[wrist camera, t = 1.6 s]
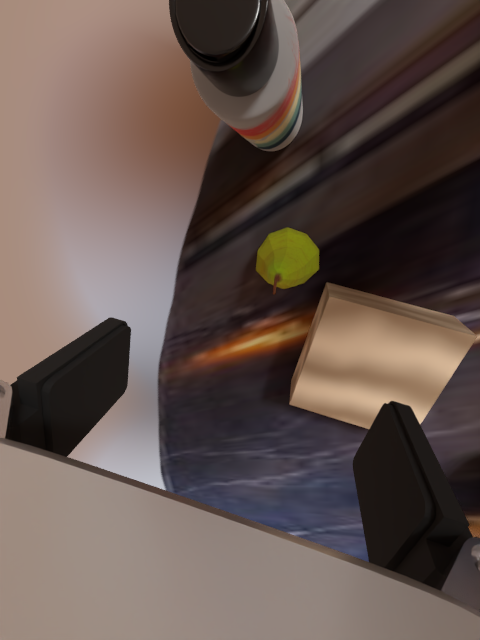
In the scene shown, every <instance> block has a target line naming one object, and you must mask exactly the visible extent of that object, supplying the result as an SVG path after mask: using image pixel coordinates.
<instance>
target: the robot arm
mask: <svg viewBox="0 0 480 640" xmlns="http://www.w3.org/2000/svg"><path fill="white" fill-rule="evenodd" d="M130 335H131V329H130V327H128V326H127V323H126V322H125V321H122V320H118V319H115V318H108V319H107V320H105V321H104V322H102V323H100V324H99V325H98V326H96V327H94V328H93V329H91V330H90V331H88V332H86V333H85V334H84V335H82V336H81V337H79V338H77V339H76V340H74V341H72V342H71V343H69V344H68V345H66V346H65V347H63V348H62V349H60V350H59V351H57V352H56V353H54V354H52V355H51V356H49V357H48V358H46V359H45V360H43V361H41V362H40V363H39V364H37V365H35V366H34V367H32V368H31V369H29V370H28V371H26V372H24V373H23V374H21V375H20V376H18V377H17V381H16V382H14V383H13V384H11V385H9V384H8V383H7V382H4V381H2V380H0V640H480V538H477V537H474V538H473V537H472V534H471V532H470V530H469V528H468V526H469V523H468V521H467V519H466V517H465V515H464V513H463V511H462V509H461V507H460V505H459V503H458V501H457V499H456V497H455V495H454V493H453V491H452V489H451V487H450V485H449V483H448V481H447V479H446V477H445V475H444V472H443V470H442V468H441V466H440V464H439V462H438V460H437V458H436V456H435V454H434V452H433V450H432V448H431V446H430V444H429V442H428V440H427V438H426V436H425V434H424V432H423V430H422V428H421V426H420V424H419V422H418V420H417V418H416V416H415V414H414V412H413V410H412V408H411V407H410V406H409V405H405V404H402V403H398V402H395V401H390V402H389V403H388V404H387V403H384V404H383V405H382V407H381V409H380V411H379V412H378V414H377V416H376V418H375V420H374V422H373V423H372V425H371V427H370V429H369V431H368V433H367V434H366V436H365V438H364V440H363V442H362V444H361V445H360V447H359V449H358V451H357V453H356V455H355V457H354V460H353V471H354V477H355V482H356V488H357V494H358V500H359V505H360V511H361V517H362V523H363V528H364V534H365V540H366V546H367V552H368V557H369V562H366V561H364V560H361V559H358V558H356V557H353V556H350V555H348V554H345V553H342V552H339V551H336V550H334V549H331V548H328V547H325V546H322V545H319V544H317V543H314V542H311V541H308V540H305V539H303V538H300V537H297V536H294V535H291V534H288V533H286V532H283V531H280V530H277V529H274V528H271V527H269V526H266V525H263V524H260V523H257V522H254V521H252V520H249V519H246V518H243V517H240V516H237V515H234V514H231V513H229V512H226V511H223V510H220V509H217V508H214V507H211V506H209V505H206V504H203V503H200V502H197V501H194V500H191V499H188V498H185V497H183V496H180V495H177V494H174V493H171V492H168V491H165V490H162V489H159V488H157V487H154V486H151V485H148V484H145V483H142V482H139V481H136V480H133V479H130V478H127V477H124V476H121V475H118V474H116V473H113V472H110V471H107V470H104V469H101V468H98V467H95V466H92V465H89V464H86V463H83V462H80V461H77V460H74V459H71V458H68V457H67V456H68V455H69V454H70V453H71V452H72V450H73V449H74V448H75V447H76V446H77V445H78V444H79V443H80V442H81V440H82V439H83V438H84V437H85V436H86V435H87V434H88V433H89V432H90V430H91V429H92V428H93V427H94V426H95V425H96V424H97V423H98V422H99V420H100V419H101V418H102V417H103V416H104V415H105V414H106V413H107V412H108V410H109V409H110V408H111V407H112V406H113V405H114V404H115V403H116V401H117V400H118V399H119V398H120V397H121V396H122V395H123V394H124V392H125V390H126V388H127V382H128V366H129V351H130Z"/></svg>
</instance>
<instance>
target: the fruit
mask: <svg viewBox="0 0 480 640" xmlns="http://www.w3.org/2000/svg"><path fill="white" fill-rule="evenodd" d="M318 270H319V249H318V248H317V246H316V245H315V244H314V243H313V241H312V240H311V239H310V238H309V237H308V235H307V234H305V233H302V232H299V231H297V230H294V229H291V228H288V227H287V228H284V229H281V230H279V231H276V232H273V233H270V234H269V235H268V236H267V238H266V239H265V240H264V242H263V243H262V245H261V246H260V248H259V249H258V251H257V262H256V271H257V272H258V273H259V274H260V275H261V276H262V277H263V278H264V279H265V280H266V281H267V282H268V283H269V284H272V285H273V294H276V287H279V288H282V289H286V288H290V287H294V286H297V285H299V284H303V283H305V282H306V281H307V280H308V279H309V278H310V277H311V276H312V275H313V274H314V273H316V272H317V271H318Z"/></svg>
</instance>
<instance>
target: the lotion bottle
mask: <svg viewBox="0 0 480 640" xmlns="http://www.w3.org/2000/svg"><path fill="white" fill-rule="evenodd" d="M169 9H170V17H171V22H172V26H173V29H174V33H175V35H176V38H177V40H178V42H179V44H180V46H181V48H182V49H183V51H184V53H185V54H186V55H187V57H188V58H189V59H190V64H191V71H192V75H193V80H194V83H195V85H196V88H197V90H198V92H199V94H200V96H201V98H202V100H203V101H204V102H205V104H206V105H207V106H208V107H209V108H210V109H211V110H212V111H213V112H214V113H215V114H216V115H217V116H218V117H219V118H221V119H222V120H223V121H224V122H225V123H227V124H228V125H229V126H230V127H232V128H233V129H234V130H235V131H236V132H238V133H239V134H240V135H241V136H243V137H244V138H245V139H246V140H247V141H249V142H250V143H251V144H253V145H254V146H255V147H257V148H259V149H261V150H264V151H277V150H280V149H282V148H284V147H286V146H287V145H288V144H289V143H291V142H292V140H293V139H294V138H295V136H296V135H297V133H298V131H299V129H300V126H301V122H302V115H303V105H302V87H301V70H300V54H299V42H298V35H297V29H296V25H295V22H294V19H293V16H292V14H291V12H290V10H289V8H288V6H287V5H286V3H285V1H284V0H169Z"/></svg>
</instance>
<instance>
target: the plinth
mask: <svg viewBox="0 0 480 640" xmlns="http://www.w3.org/2000/svg"><path fill="white" fill-rule="evenodd" d="M476 338H477V336H476V335H475V334H474V333H473V332H472V331H470V330H469V329H468V328H467V327H466V326H465V325H463V324H462V323H461V322H460V321H459V320H458V319H457V318H455V317H454V316H452V315H448V314H444V313H440V312H437V311H433V310H429V309H425V308H422V307H418V306H414V305H410V304H407V303H403V302H399V301H396V300H392V299H388V298H384V297H381V296H377V295H373V294H369V293H366V292H362V291H358V290H354V289H351V288H347V287H343V286H339V285H336V284H332V283H328V282H326V285H325V288H324V291H323V293H322V296H321V299H320V302H319V305H318V307H317V310H316V313H315V316H314V319H313V321H312V324H311V327H310V330H309V332H308V335H307V338H306V341H305V344H304V346H303V349H302V352H301V355H300V358H299V360H298V363H297V366H296V369H295V372H294V374H293V377H292V380H291V391H290V403H289V404H290V405H293V406H296V407H299V408H302V409H306V410H309V411H312V412H315V413H319V414H322V415H325V416H328V417H331V418H335V419H338V420H341V421H344V422H348V423H351V424H354V425H357V426H360V427H364V428H367V429H370V427H371V425H372V423H373V422H374V420H375V418H376V416H377V414H378V412H379V411H380V409H381V407H382V405H383V404H384V403H387V404H388V403H389V402H390V401H395V402H398V403H402V404H405V405H409V406H410V407H411V408H412V410H413V412H414V414H415V416H416V418H417V420H418V422H419V424H421V423H422V421H423V420H424V418H425V416H426V415H427V413H428V412H429V410H430V409H431V407H432V406H433V404H434V403H435V401H436V399H437V398H438V396H439V395H440V393H441V392H442V390H443V389H444V387H445V386H446V384H447V382H448V381H449V379H450V378H451V376H452V375H453V373H454V372H455V370H456V369H457V367H458V365H459V364H460V362H461V361H462V359H463V358H464V356H465V355H466V353H467V351H468V350H469V348H470V347H471V345H472V344H473V342H474V341H475V339H476Z"/></svg>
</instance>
